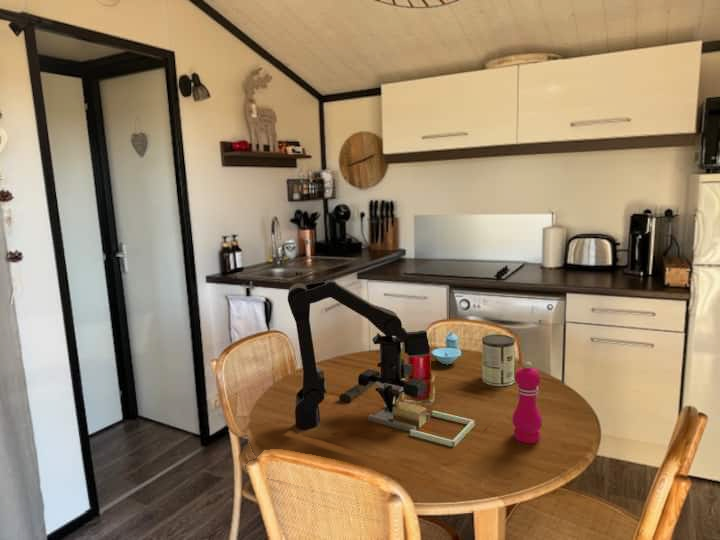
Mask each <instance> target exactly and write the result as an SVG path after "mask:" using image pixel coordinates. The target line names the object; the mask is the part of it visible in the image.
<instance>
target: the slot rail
mask: <svg viewBox="0 0 720 540" xmlns="http://www.w3.org/2000/svg"><path fill="white" fill-rule="evenodd" d="M367 417H368V420H367V421H369V422H371V423H377V424H380V425H383V426H386V427H391V428H395V429H397V430H402V431H406V432H409V433H410V430H411V429H412V430H416V431H418V429H419V428H418V427H416V426H415V425H411V424H407V423H403V422H399V421H396V420H393V412H390V411H389V409H388V407H387V406H386V404H385V403H384V404H383V409H381V410H380V411H379V412H377V413H376V414H371V413H370V414H369V415H368V416H367ZM430 419H431V413H429V412H426V422H427V421H428V420H430Z"/></svg>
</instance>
